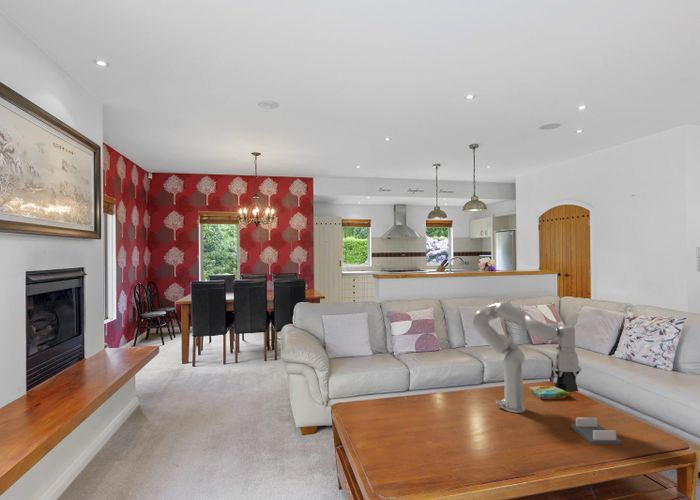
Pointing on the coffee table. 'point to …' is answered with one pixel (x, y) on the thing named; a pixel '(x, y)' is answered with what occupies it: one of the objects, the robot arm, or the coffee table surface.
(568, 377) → the phone stand
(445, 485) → the coffee table surface
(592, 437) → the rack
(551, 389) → the puzzle game
